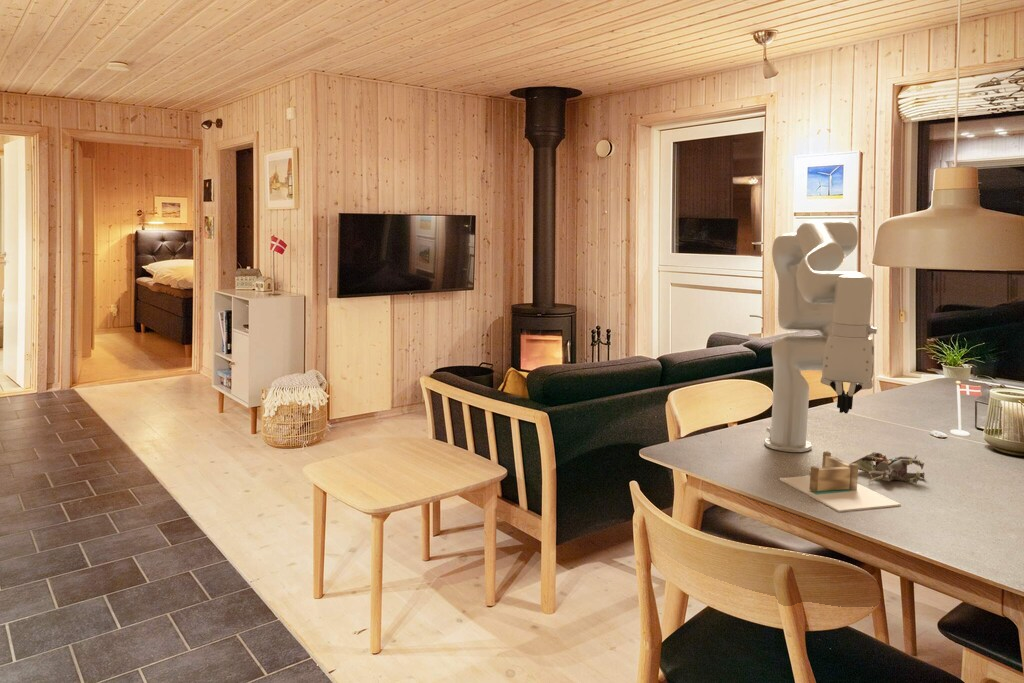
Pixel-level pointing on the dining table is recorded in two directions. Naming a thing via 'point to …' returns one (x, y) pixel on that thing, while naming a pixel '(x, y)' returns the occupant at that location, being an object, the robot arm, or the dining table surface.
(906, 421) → the dining table surface
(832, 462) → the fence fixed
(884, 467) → the figurine
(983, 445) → the dining table surface
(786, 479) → the card
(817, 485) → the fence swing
